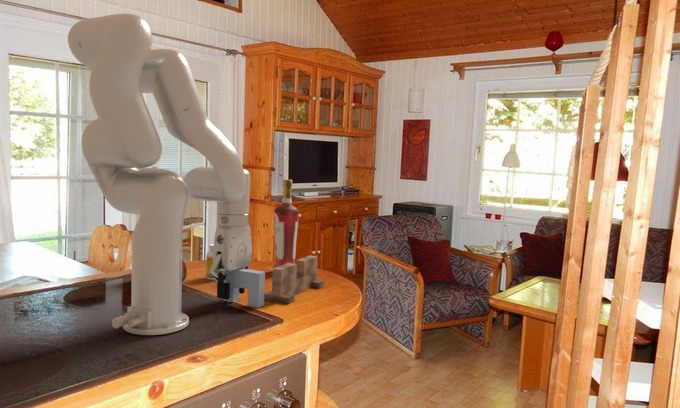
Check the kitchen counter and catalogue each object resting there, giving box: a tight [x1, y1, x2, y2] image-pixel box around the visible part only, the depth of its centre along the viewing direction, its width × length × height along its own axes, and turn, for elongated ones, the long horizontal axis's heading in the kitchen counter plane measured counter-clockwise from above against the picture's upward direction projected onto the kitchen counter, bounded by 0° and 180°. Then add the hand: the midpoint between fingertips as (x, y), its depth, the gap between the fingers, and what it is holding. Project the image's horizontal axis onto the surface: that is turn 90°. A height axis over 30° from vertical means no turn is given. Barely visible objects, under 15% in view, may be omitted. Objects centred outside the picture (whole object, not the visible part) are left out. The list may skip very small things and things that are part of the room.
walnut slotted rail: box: [264, 254, 325, 305], centre depth 132 cm, size 20×7×8 cm, turn 157°
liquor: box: [273, 178, 300, 268], centre depth 154 cm, size 7×7×28 cm
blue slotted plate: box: [222, 268, 266, 308], centre depth 120 cm, size 10×2×8 cm, turn 67°
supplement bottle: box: [205, 243, 224, 281], centre depth 143 cm, size 5×5×10 cm
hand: (231, 294), depth 122 cm, fingers open, 5 cm apart
